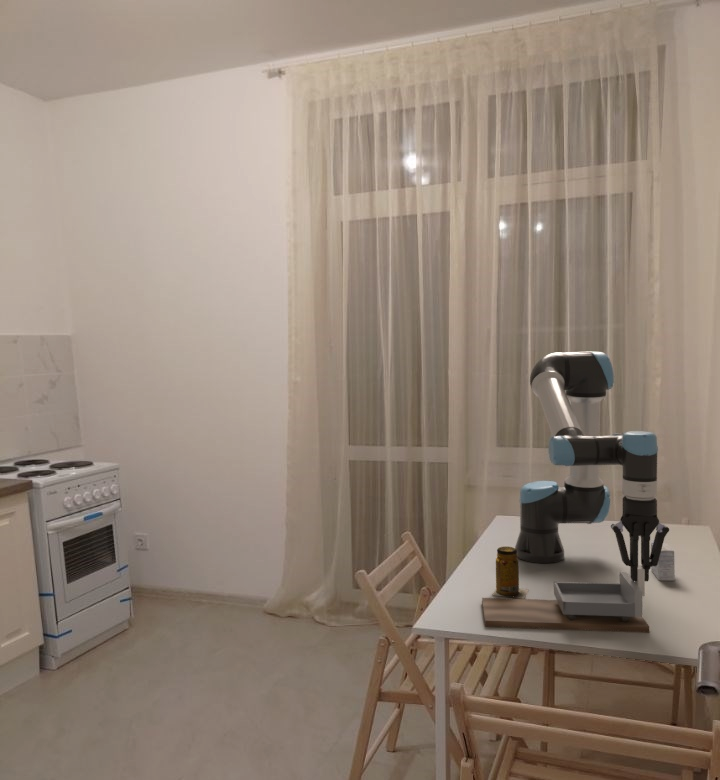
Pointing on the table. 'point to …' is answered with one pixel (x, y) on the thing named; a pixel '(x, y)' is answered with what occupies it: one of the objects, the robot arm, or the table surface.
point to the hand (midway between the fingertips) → (639, 593)
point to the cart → (600, 598)
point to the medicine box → (665, 564)
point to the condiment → (508, 574)
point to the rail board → (551, 617)
